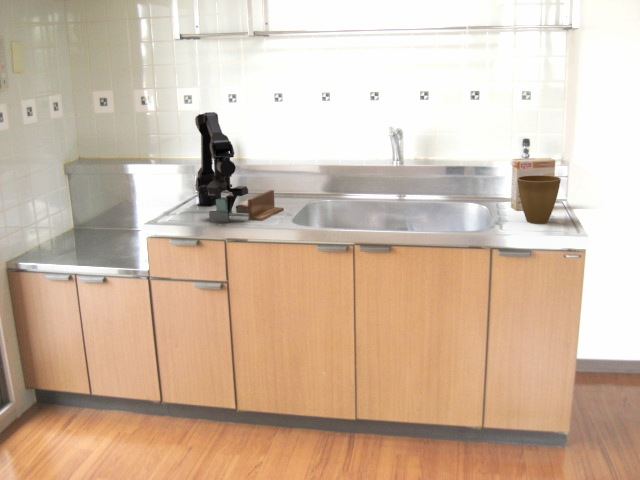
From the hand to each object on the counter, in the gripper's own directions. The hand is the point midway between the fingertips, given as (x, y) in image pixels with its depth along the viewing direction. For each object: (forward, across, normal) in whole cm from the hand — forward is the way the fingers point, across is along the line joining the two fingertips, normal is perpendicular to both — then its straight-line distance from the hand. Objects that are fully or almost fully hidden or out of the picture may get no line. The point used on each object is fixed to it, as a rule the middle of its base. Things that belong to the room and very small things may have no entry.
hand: (224, 212), depth 273 cm
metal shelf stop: (+3, 0, -4) cm, 5 cm away
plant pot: (+3, +113, +28) cm, 117 cm away
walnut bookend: (+3, +12, +12) cm, 17 cm away
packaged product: (+4, +2, +17) cm, 17 cm away
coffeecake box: (+3, +109, +51) cm, 121 cm away
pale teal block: (+2, 0, 0) cm, 2 cm away
